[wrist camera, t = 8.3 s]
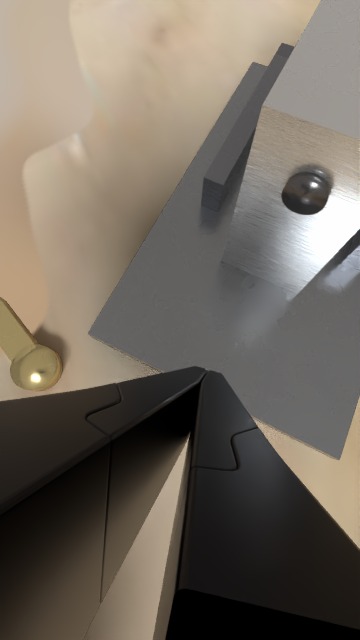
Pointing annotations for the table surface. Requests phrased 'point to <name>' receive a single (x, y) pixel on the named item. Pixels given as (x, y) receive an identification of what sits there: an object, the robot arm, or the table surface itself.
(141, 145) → the table surface
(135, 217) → the table surface
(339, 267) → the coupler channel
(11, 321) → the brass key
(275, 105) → the block
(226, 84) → the table surface
